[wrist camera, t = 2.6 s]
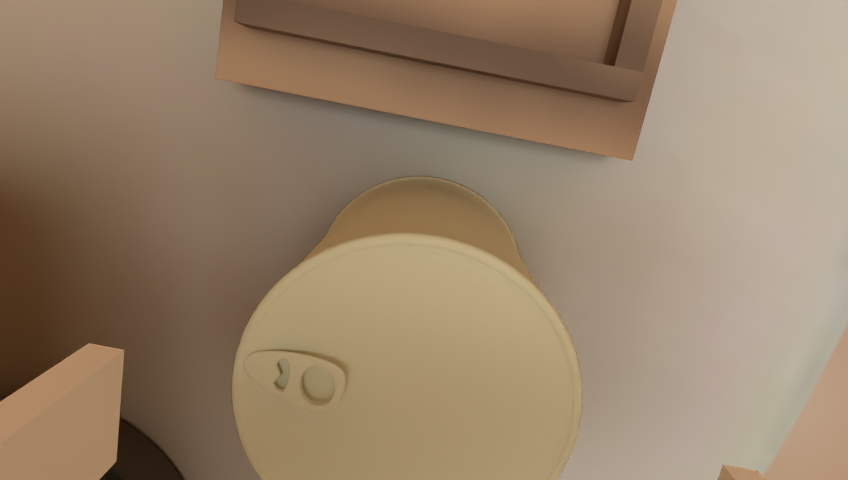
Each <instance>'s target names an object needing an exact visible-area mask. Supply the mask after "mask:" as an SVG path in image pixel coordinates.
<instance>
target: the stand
mask: <svg viewBox="0 0 848 480" xmlns="http://www.w3.org/2000/svg"><path fill="white" fill-rule="evenodd" d="M676 2H677V0H223V10H222V20H221V29H220V39H219V49H218V59H217V69H216V79H221V80H226V81H231V82H236V83H241V84H247V85H252V86H257V87H262V88H267V89H272V90H277V91H282V92H287V93H292V94H297V95H302V96H307V97H312V98H317V99H322V100H327V101H332V102H338V103H343V104H348V105H353V106H358V107H363V108H368V109H373V110H378V111H383V112H388V113H393V114H398V115H403V116H408V117H413V118H418V119H423V120H429V121H434V122H439V123H444V124H449V125H454V126H459V127H464V128H469V129H474V130H479V131H484V132H489V133H494V134H499V135H504V136H509V137H514V138H520V139H525V140H530V141H535V142H540V143H545V144H550V145H555V146H560V147H565V148H570V149H575V150H580V151H585V152H590V153H595V154H600V155H605V156H610V157H616V158H621V159H626V160H631V161H632V160H633V157H634V153H635V149H636V146H637V142H638V139H639V135H640V131H641V128H642V124H643V121H644V117H645V113H646V110H647V106H648V103H649V99H650V96H651V92H652V88H653V85H654V81H655V78H656V74H657V70H658V67H659V63H660V60H661V56H662V52H663V49H664V45H665V42H666V38H667V35H668V31H669V27H670V24H671V20H672V17H673V13H674V9H675V6H676Z"/></svg>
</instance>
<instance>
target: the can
mask: <svg viewBox="0 0 848 480" xmlns="http://www.w3.org/2000/svg"><path fill="white" fill-rule="evenodd" d="M231 386H232V406H233V415H234V419H235V423H236V427H237V431H238V435H239V438H240V441H241V444H242V446H243V448H244V450H245V453H246V455H247V457H248V459H249V461H250V463H251V465H252V466H253V468H254V470H255V471H256V473H257V474H258V476H259V477H260V479H261V480H556V479H557V477H558V476H559V474H560V473H561V471H562V470H563V468H564V466H565V464H566V462H567V460H568V459H569V456H570V454H571V451H572V449H573V446H574V443H575V441H576V437H577V433H578V429H579V426H580V419H581V411H582V381H581V373H580V367H579V362H578V358H577V355H576V351H575V348H574V346H573V343H572V340H571V338H570V335H569V333H568V331H567V329H566V327H565V325H564V323H563V321H562V319H561V318H560V316H559V315H558V313H557V311H556V310H555V308H554V307H553V306H552V304H551V303H550V302H549V300H548V299H547V298H546V297H545V296H544V294H543V293H542V292H541V291H540V290H539V288H538V287H537V285H536V283H535V282H534V280H533V278H532V277H531V275H530V274H529V272H528V270H527V268H526V267H525V265H524V263H523V261H522V259H521V258H520V256H519V253H518V249H517V246H516V243H515V240H514V238H513V235H512V233H511V232H510V230H509V228H508V226H507V224H506V223H505V221H504V220H503V219H502V217H501V216H500V214H499V213H498V212H497V211H496V210H495V209H494V208H493V207H492V206H491V205H490V204H489V203H488V202H487V201H486V200H485V199H483V198H482V197H481V196H479V195H478V194H476V193H475V192H473V191H472V190H470V189H468V188H466V187H464V186H462V185H460V184H457V183H454V182H451V181H448V180H445V179H440V178H435V177H426V176H412V177H403V178H397V179H393V180H389V181H386V182H383V183H381V184H378V185H376V186H374V187H372V188H370V189H368V190H366V191H365V192H363V193H361V194H360V195H358V196H357V197H356V198H354V199H353V200H352V201H351V202H350V203H349V204H348V205H347V206H346V207H345V208H344V209H343V210H342V211H341V212H340V213H339V215H338V216H337V217H336V219H335V220H334V222H333V223H332V225H331V227H330V228H329V230H328V232H327V234H326V236H325V237H324V238H323V239H322V240H321V241H320V242H319V243H318V245H317V246H316V247H315V248H314V249H313V250H312V251H311V252H310V253H309V254H308V255H307V257H306V258H305V259H304V260H303V261H302V262H301V263H300V264H299V265H298V266H296V267H295V268H293V269H292V270H291V271H290V272H288V273H287V274H286V275H285V276H284V277H283V278H282V279H281V280H280V281H279V282H277V283H276V285H275V286H274V287H273V288H272V289H271V290H270V291H269V292H268V293H267V294H266V296H265V297H264V298H263V300H262V301H261V302H260V303H259V305H258V306H257V308H256V310H255V311H254V313H253V314H252V316H251V318H250V320H249V321H248V323H247V325H246V327H245V330H244V332H243V334H242V337H241V340H240V343H239V346H238V349H237V353H236V357H235V361H234V367H233V373H232V385H231Z"/></svg>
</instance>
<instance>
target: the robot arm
mask: <svg viewBox="0 0 848 480" xmlns="http://www.w3.org/2000/svg"><path fill="white" fill-rule="evenodd" d="M123 362H124V350H122V349H117V348H112V347H107V346H101V345H96V344H91V343H88V344H87V345H85V346H84V347H82V348H81V349H79V350H78V351H76V352H75V353H73V354H72V355H70V356H69V357H67V358H66V359H64V360H63V361H61V362H60V363H58V364H57V365H55V366H53V367H52V368H50V369H49V370H47V371H46V372H44V373H43V374H41V375H40V376H38V377H37V378H35V379H34V380H32V381H31V382H29V383H28V384H26V385H25V386H23V387H22V388H20V389H19V390H17V391H16V392H14V393H13V394H11V395H10V396H8V397H2V398H0V480H182V479H181V477H180V476H179V474H178V473H177V471H176V470H175V468H174V467H173V466H172V464H171V463H170V462H169V460H168V459H167V458H166V457H165V456H164V455H163V454H162V452H161V451H160V450H159V449H158V448H157V447H156V446H155V445H154V444H152V443H151V442H150V441H149V440H148V439H147V438H146V437H144V436H143V435H142V434H140V433H139V432H138V431H137V430H135V429H134V428H132V427H131V426H129V425H128V424H126V423H125V422H123V421H121V420H119V418H120V404H121V390H122V376H123ZM718 480H765V479H764V478H763V477H762V476H761V474H760V473H759V472H758V471H754V470H749V469H744V468H739V467H733V466H728V465H723V466H722V469H721V472H720V475H719V477H718Z"/></svg>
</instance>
